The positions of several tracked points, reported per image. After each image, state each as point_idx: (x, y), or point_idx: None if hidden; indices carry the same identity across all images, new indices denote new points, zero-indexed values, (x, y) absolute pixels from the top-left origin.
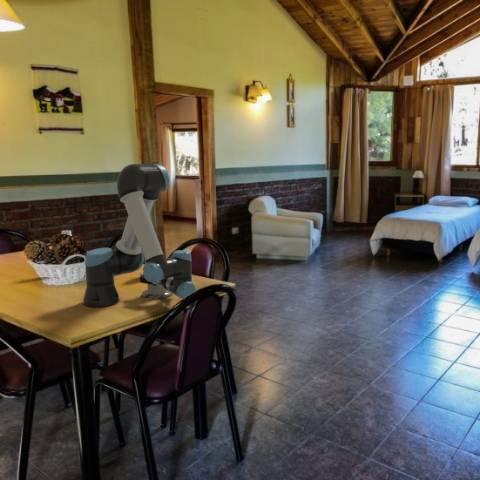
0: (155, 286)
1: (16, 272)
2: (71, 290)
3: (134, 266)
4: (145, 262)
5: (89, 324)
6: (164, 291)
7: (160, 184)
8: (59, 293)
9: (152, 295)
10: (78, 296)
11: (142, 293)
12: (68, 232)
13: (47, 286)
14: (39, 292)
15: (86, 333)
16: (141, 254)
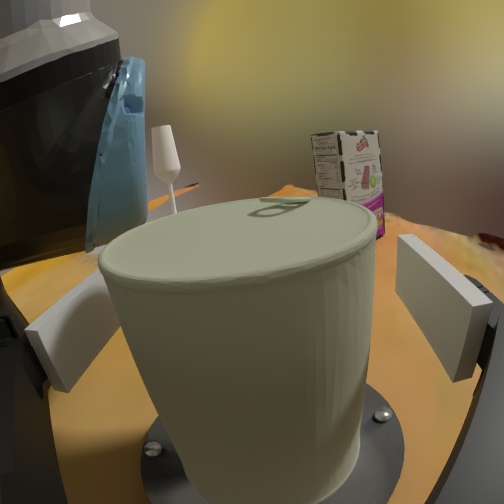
0: (189, 458)
1: None
2: (76, 279)
3: (42, 208)
4: (319, 189)
5: None
6: (302, 501)
7: None
8: (44, 286)
9: (177, 499)
10: (33, 315)
11: (156, 418)
12: (160, 128)
13: (82, 254)
14: (39, 273)
15: None
16: (110, 93)
